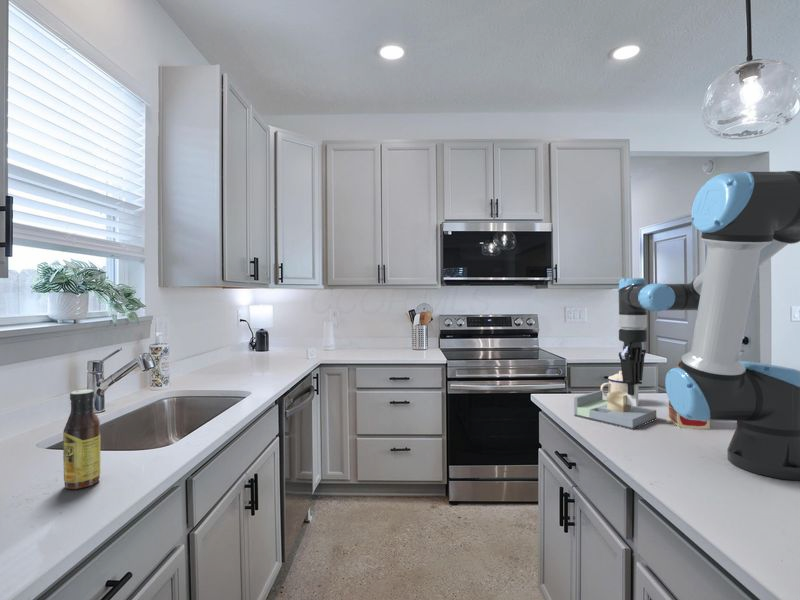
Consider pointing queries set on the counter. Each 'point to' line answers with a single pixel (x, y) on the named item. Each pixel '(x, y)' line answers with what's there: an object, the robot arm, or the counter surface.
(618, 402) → the maple block
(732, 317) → the robot arm
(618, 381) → the teacup with lid
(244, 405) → the counter surface
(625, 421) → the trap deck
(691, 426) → the milk carton
